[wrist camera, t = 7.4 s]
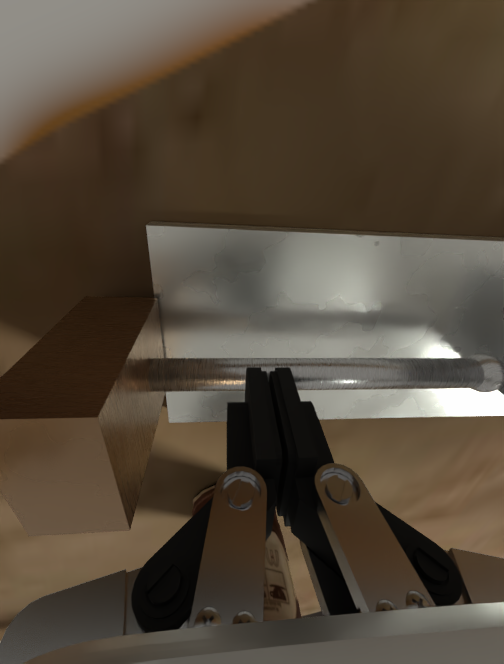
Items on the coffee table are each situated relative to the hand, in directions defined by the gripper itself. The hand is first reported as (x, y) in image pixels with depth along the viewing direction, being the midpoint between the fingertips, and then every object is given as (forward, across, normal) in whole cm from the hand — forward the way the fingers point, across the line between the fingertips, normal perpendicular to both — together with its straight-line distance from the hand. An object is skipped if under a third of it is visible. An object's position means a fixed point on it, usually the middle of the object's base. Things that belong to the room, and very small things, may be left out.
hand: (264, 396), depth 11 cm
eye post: (+5, -8, 0) cm, 10 cm away
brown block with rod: (+4, -2, 0) cm, 4 cm away
